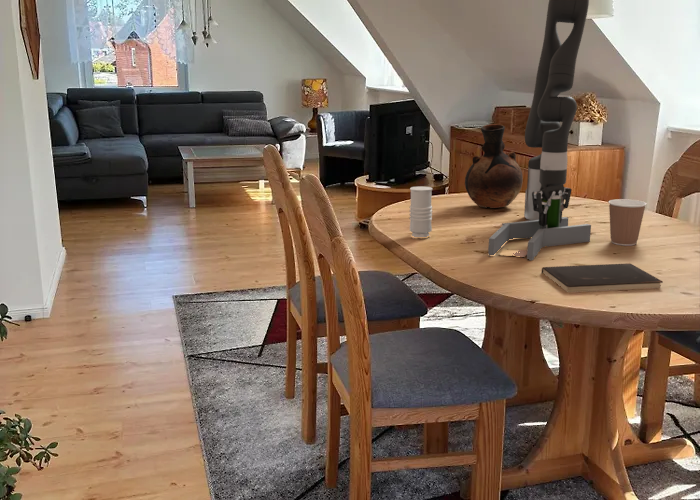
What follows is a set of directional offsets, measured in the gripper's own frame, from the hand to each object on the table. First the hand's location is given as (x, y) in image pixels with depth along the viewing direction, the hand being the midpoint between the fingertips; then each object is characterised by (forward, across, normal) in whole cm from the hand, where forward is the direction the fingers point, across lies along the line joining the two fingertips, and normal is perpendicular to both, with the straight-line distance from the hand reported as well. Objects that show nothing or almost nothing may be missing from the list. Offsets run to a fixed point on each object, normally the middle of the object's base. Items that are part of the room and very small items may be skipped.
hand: (549, 224), depth 209 cm
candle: (+5, +29, -25) cm, 38 cm away
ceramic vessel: (+5, -19, -47) cm, 51 cm away
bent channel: (+5, +9, +4) cm, 11 cm away
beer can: (+3, 0, 0) cm, 3 cm away
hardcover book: (+6, +19, +35) cm, 40 cm away
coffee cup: (+5, -16, +14) cm, 22 cm away
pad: (+5, +19, +6) cm, 21 cm away
